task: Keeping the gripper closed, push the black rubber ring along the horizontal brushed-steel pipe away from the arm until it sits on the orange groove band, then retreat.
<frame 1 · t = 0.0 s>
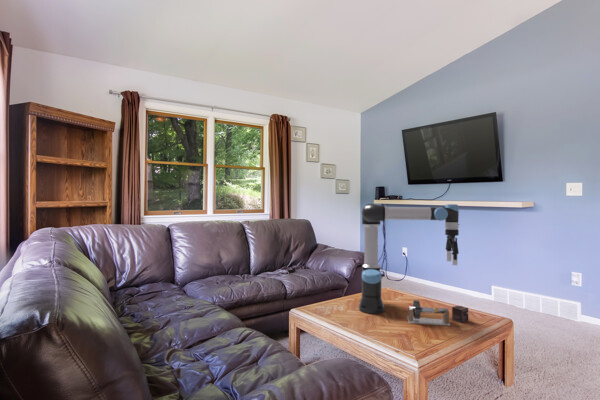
hand: (451, 263, 206), 28 cm above the table, fingers open, 13 cm apart
box: (460, 321, 184), on the table
pipe rig: (428, 322, 182), on the table
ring: (416, 309, 183), point 7 cm above the table, slide at 0.0 cm
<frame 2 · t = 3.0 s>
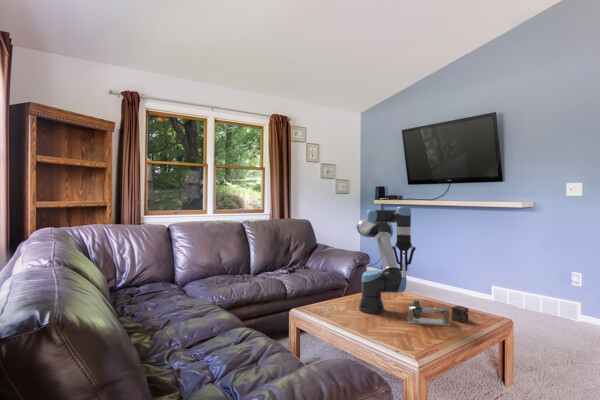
hand: (403, 276, 184), 24 cm above the table, fingers closed
nothing on the table moved.
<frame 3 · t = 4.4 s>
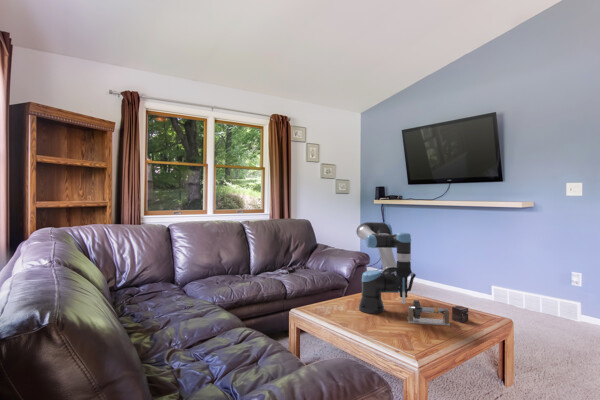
hand: (403, 303, 184), 9 cm above the table, fingers closed
nothing on the table moved.
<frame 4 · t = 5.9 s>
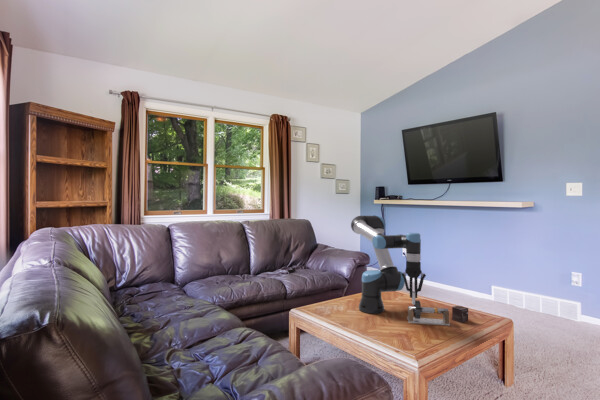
hand: (413, 303, 183), 10 cm above the table, fingers closed
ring: (417, 309, 183), point 7 cm above the table, slide at 0.3 cm, touching gripper
everything else where it was.
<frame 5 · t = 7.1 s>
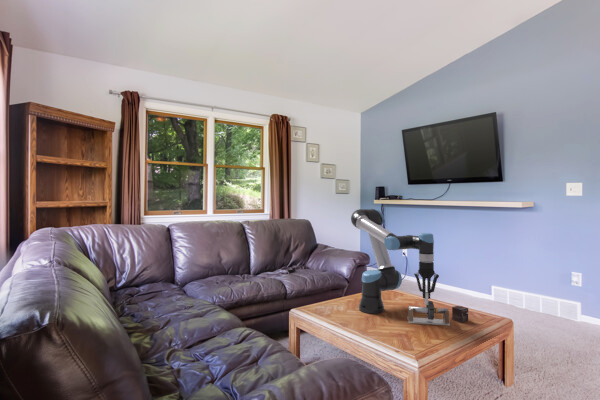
hand: (426, 304, 182), 10 cm above the table, fingers closed
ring: (430, 310, 182), point 7 cm above the table, slide at 7.1 cm, touching gripper
everything else where it was.
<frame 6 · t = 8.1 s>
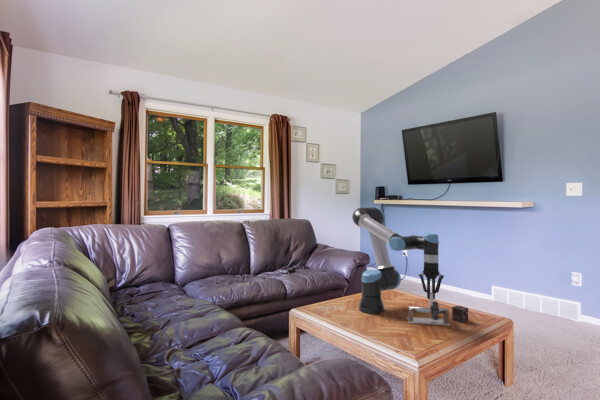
hand: (431, 304, 182), 9 cm above the table, fingers closed
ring: (434, 310, 181), point 7 cm above the table, slide at 9.4 cm, touching gripper
everything else where it was.
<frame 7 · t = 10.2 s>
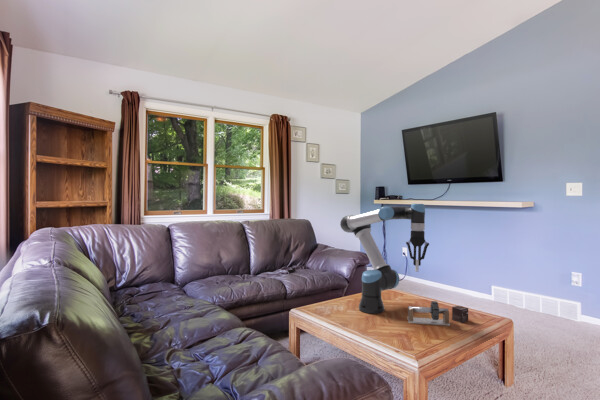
hand: (416, 271, 192), 26 cm above the table, fingers closed
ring: (434, 310, 181), point 7 cm above the table, slide at 9.4 cm
everything else where it was.
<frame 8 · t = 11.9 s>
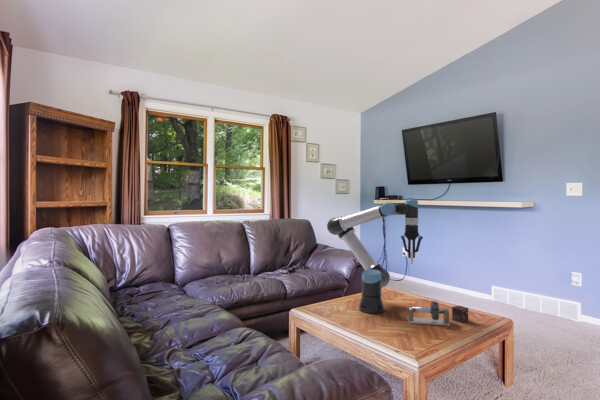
hand: (411, 263, 203), 28 cm above the table, fingers closed
nothing on the table moved.
at the end: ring slide at 9.4 cm; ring 0.6 cm from the target spot on the pipe rig, point 6.5 cm above the pipe rig's base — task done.
